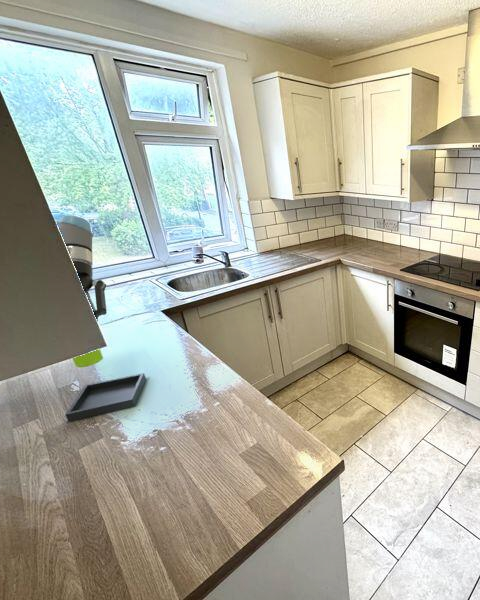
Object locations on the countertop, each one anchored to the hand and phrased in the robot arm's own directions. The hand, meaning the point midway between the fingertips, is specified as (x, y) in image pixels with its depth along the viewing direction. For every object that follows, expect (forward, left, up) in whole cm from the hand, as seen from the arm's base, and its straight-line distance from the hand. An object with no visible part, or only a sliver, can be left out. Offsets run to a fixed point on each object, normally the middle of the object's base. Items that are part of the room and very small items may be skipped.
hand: (73, 342), depth 86 cm
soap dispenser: (0, +4, -8) cm, 9 cm away
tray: (+2, +1, -20) cm, 20 cm away
